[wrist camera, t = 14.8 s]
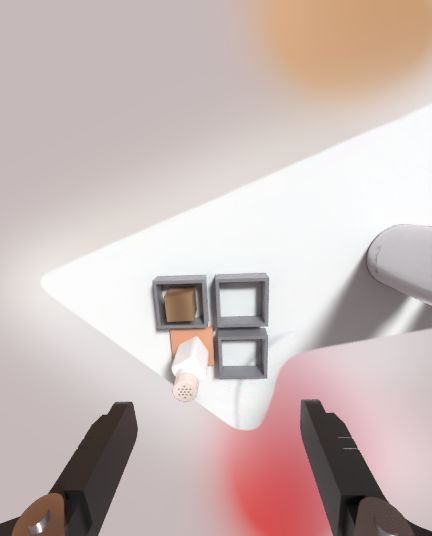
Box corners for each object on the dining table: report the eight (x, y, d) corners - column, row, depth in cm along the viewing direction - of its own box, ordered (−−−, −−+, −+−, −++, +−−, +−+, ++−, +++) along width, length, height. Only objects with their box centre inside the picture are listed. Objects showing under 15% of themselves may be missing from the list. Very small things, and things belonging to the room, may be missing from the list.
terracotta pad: (212, 326, 38) (212, 328, 37) (214, 362, 40) (214, 365, 39) (171, 327, 38) (170, 329, 37) (174, 363, 40) (173, 366, 39)
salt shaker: (190, 361, 39) (180, 409, 30) (177, 344, 38) (162, 387, 29) (210, 351, 38) (206, 396, 29) (197, 333, 37) (189, 373, 28)
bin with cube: (206, 274, 36) (205, 279, 33) (208, 319, 38) (207, 327, 35) (157, 276, 36) (152, 281, 33) (162, 321, 38) (158, 328, 35)
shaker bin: (265, 327, 38) (267, 336, 35) (264, 368, 40) (267, 378, 37) (218, 328, 38) (217, 337, 36) (219, 368, 40) (219, 379, 37)
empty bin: (265, 272, 35) (268, 277, 33) (265, 318, 37) (268, 326, 35) (215, 274, 36) (215, 279, 33) (217, 319, 38) (217, 327, 35)
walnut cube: (194, 286, 36) (191, 295, 32) (196, 309, 37) (193, 320, 33) (170, 287, 36) (163, 296, 33) (172, 310, 37) (167, 321, 34)
